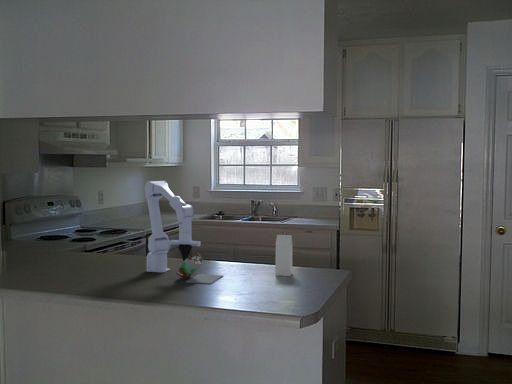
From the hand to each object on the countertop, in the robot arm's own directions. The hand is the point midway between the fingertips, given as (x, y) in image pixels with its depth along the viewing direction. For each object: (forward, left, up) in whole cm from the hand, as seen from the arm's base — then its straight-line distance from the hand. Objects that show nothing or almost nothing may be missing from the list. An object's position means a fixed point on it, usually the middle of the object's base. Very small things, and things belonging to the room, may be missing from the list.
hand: (185, 260), depth 245 cm
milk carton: (+42, +21, -8) cm, 47 cm away
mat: (+10, 0, -8) cm, 13 cm away
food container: (0, 0, -7) cm, 7 cm away
